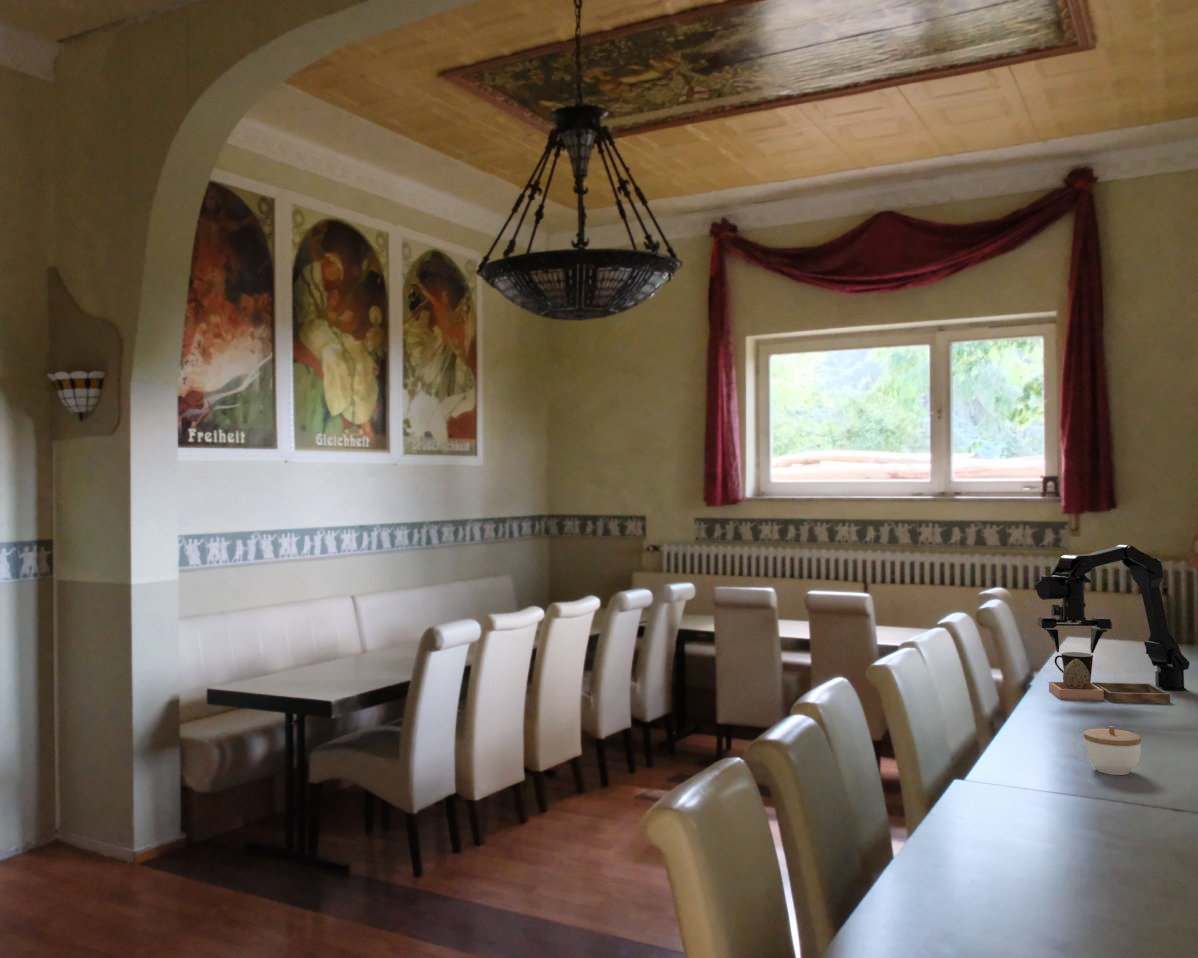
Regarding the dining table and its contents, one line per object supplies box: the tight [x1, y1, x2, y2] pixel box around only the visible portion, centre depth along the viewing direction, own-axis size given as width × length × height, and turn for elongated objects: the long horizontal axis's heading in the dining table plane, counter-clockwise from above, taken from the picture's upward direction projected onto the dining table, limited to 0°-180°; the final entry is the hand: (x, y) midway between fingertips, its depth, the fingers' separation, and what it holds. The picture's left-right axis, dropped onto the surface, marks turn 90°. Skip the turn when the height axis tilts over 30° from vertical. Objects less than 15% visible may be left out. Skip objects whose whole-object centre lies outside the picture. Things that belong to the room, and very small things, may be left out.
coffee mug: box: [1054, 651, 1094, 683], centre depth 294 cm, size 12×9×10 cm
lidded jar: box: [1083, 725, 1142, 776], centre depth 205 cm, size 11×11×9 cm
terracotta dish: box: [1048, 681, 1105, 701], centre depth 281 cm, size 12×12×3 cm
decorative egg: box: [1062, 659, 1091, 689], centre depth 281 cm, size 7×7×10 cm
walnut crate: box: [1091, 681, 1171, 704], centre depth 278 cm, size 16×16×2 cm
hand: (1074, 652), depth 281 cm, fingers open, 9 cm apart
